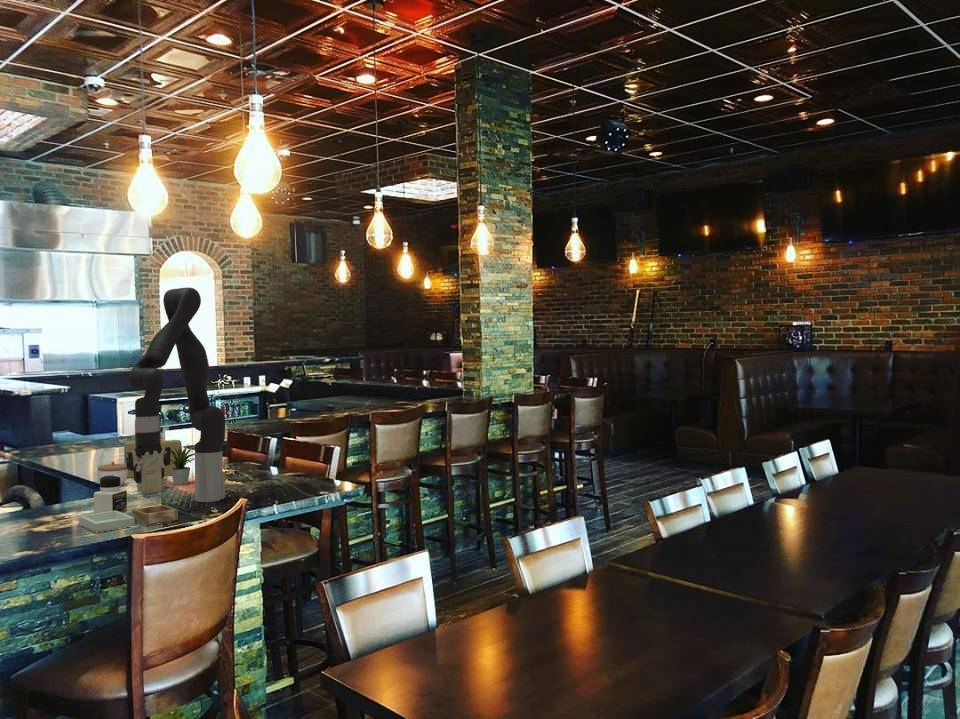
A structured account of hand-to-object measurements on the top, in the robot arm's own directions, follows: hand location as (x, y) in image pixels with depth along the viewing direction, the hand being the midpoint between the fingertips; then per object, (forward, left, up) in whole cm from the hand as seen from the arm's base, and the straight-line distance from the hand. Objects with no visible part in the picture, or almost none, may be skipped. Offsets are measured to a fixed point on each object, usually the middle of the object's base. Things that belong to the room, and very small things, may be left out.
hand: (149, 481), depth 248 cm
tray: (+15, +6, -11) cm, 20 cm away
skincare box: (0, 0, -4) cm, 4 cm away
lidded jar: (-11, -59, -11) cm, 61 cm away
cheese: (-32, -69, -11) cm, 77 cm away
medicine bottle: (+7, -12, -11) cm, 18 cm away
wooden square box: (+2, +10, -11) cm, 15 cm away
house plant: (-31, -43, -11) cm, 54 cm away
